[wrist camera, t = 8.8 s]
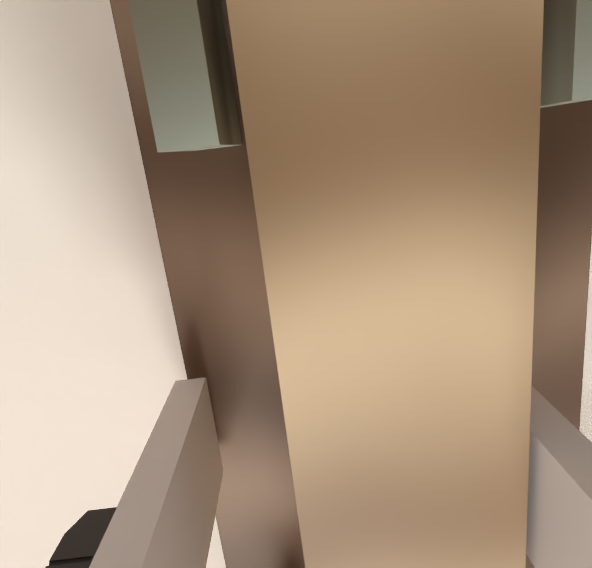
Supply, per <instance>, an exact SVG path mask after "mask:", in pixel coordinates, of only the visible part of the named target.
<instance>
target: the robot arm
mask: <svg viewBox="0 0 592 568" xmlns="http://www.w3.org/2000/svg"><path fill="white" fill-rule="evenodd" d="M223 471H224V469H223V464H222V459H221V454H220V448H219V443H218V438H217V433H216V428H215V422H214V417H213V412H212V407H211V401H210V396H209V391H208V386H207V380H206V377H205V378H196V379H188V380H180V381H175V383H174V385H173V388H172V390H171V392H170V394H169V396H168V398H167V401H166V403H165V405H164V407H163V409H162V411H161V413H160V416H159V418H158V420H157V422H156V424H155V426H154V429H153V431H152V433H151V435H150V437H149V439H148V442H147V444H146V446H145V448H144V450H143V452H142V454H141V457H140V459H139V461H138V463H137V465H136V467H135V470H134V472H133V474H132V476H131V478H130V480H129V482H128V485H127V487H126V489H125V491H124V493H123V495H122V498H121V500H120V502H119V504H118V506H117V507H115V508H107V509H98V510H90V511H87V512H86V513H85V514H84V515H83V516H82V517H81V518H80V519H79V520H78V521H77V522H76V523H75V524H74V525H73V526H72V527H71V528H70V529H69V530H68V531H67V532H66V533H65V534H64V536H63V538H62V539H61V541H60V543H59V545H58V546H57V548H56V550H55V552H54V554H53V555H52V557H51V559H50V561H49V566H46V568H206V563H207V557H208V552H209V546H210V541H211V536H212V530H213V525H214V519H215V514H216V509H217V503H218V498H219V492H220V487H221V482H222V476H223ZM526 554H527V556H528V558H529V559H530V561H531V563H532V564H533V566H534V568H592V442H591V441H590V440H588V439H587V438H586V437H585V436H584V435H583V434H582V433H581V432H580V431H579V430H578V429H577V428H576V427H575V426H574V425H573V424H572V423H571V422H569V421H568V420H567V419H566V418H565V417H564V416H563V415H562V414H561V413H560V412H559V411H558V410H557V409H556V408H555V407H554V406H553V405H552V404H550V403H549V402H548V401H547V400H546V399H545V398H544V397H543V396H542V395H541V394H540V393H539V392H538V391H537V390H536V389H535V388H534V387H533V386H531V413H530V444H529V474H528V505H527V536H526Z"/></svg>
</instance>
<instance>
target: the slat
mask: <svg viewBox="0 0 592 568" xmlns="http://www.w3.org/2000/svg"><path fill="white" fill-rule="evenodd" d="M226 3H227V10H228V18H229V25H230V32H231V39H232V46H233V53H234V61H235V68H236V75H237V82H238V89H239V96H240V104H241V111H242V118H243V125H244V132H245V139H246V147H247V154H248V161H249V168H250V175H251V182H252V190H253V197H254V204H255V211H256V218H257V225H258V232H259V240H260V247H261V254H262V261H263V268H264V275H265V283H266V290H267V297H268V304H269V311H270V318H271V326H272V333H273V340H274V347H275V354H276V361H277V369H278V376H279V383H280V390H281V397H282V404H283V412H284V419H285V426H286V433H287V440H288V447H289V455H290V462H291V469H292V476H293V483H294V490H295V497H296V505H297V512H298V519H299V526H300V533H301V540H302V548H303V555H304V562H305V568H525V567H526V536H527V505H528V474H529V444H530V413H531V382H532V351H533V320H534V289H535V259H536V228H537V197H538V166H539V135H540V105H541V74H542V43H543V12H544V0H226Z"/></svg>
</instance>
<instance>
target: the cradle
mask: <svg viewBox="0 0 592 568" xmlns="http://www.w3.org/2000/svg"><path fill="white" fill-rule="evenodd" d="M110 4H111V9H112V14H113V18H114V23H115V28H116V33H117V38H118V43H119V48H120V53H121V57H122V62H123V67H124V72H125V77H126V82H127V87H128V92H129V96H130V101H131V106H132V111H133V116H134V121H135V126H136V130H137V135H138V140H139V145H140V150H141V155H142V160H143V165H144V169H145V174H146V179H147V184H148V189H149V194H150V199H151V204H152V208H153V213H154V218H155V223H156V228H157V233H158V238H159V242H160V247H161V252H162V257H163V262H164V267H165V272H166V277H167V281H168V286H169V291H170V296H171V301H172V306H173V311H174V316H175V320H176V325H177V330H178V335H179V340H180V345H181V350H182V354H183V359H184V364H185V369H186V374H187V379H196V378H205V377H206V380H207V386H208V391H209V396H210V401H211V407H212V412H213V417H214V422H215V428H216V433H217V438H218V443H219V448H220V454H221V459H222V464H223V469H224V471H223V476H222V482H221V487H220V492H219V498H218V503H217V509H216V514H215V515H216V520H217V525H218V530H219V535H220V539H221V544H222V549H223V554H224V559H225V564H226V568H305V562H304V555H303V548H302V540H301V533H300V526H299V519H298V512H297V505H296V497H295V490H294V483H293V476H292V469H291V462H290V455H289V447H288V440H287V433H286V426H285V419H284V412H283V404H282V397H281V390H280V383H279V376H278V369H277V361H276V354H275V347H274V340H273V333H272V326H271V318H270V311H269V304H268V297H267V290H266V283H265V275H264V268H263V261H262V254H261V247H260V240H259V232H258V225H257V218H256V211H255V204H254V197H253V190H252V182H251V175H250V168H249V161H248V154H247V147H246V139H245V132H244V125H243V118H242V111H241V104H240V96H239V89H238V82H237V75H236V68H235V61H234V53H233V46H232V39H231V32H230V25H229V18H228V10H227V3H226V0H110ZM591 237H592V0H544V12H543V43H542V74H541V105H540V135H539V166H538V197H537V228H536V259H535V289H534V320H533V351H532V382H531V386H533V387H534V388H535V389H536V390H537V391H538V392H539V393H540V394H541V395H542V396H543V397H544V398H545V399H546V400H547V401H548V402H549V403H550V404H552V405H553V406H554V407H555V408H556V409H557V410H558V411H559V412H560V413H561V414H562V415H563V416H564V417H565V418H566V419H567V420H568V421H569V422H571V423H572V424H573V425H574V426H575V427H576V428H577V429H578V430H579V426H580V410H581V394H582V378H583V363H584V347H585V331H586V316H587V300H588V284H589V268H590V253H591ZM525 568H534V566H533V564H532V563H531V561H530V559H529V558H528V556H527V554H526V567H525Z"/></svg>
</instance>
